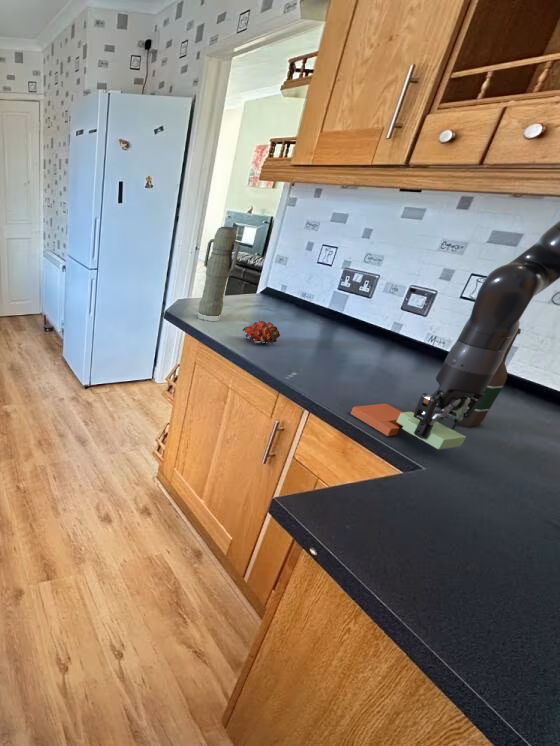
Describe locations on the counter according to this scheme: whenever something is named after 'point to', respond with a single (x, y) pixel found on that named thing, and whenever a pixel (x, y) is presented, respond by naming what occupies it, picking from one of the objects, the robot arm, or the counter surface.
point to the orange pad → (379, 417)
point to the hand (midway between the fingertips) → (431, 434)
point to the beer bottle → (489, 392)
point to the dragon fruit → (262, 332)
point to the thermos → (218, 270)
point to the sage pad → (432, 432)
